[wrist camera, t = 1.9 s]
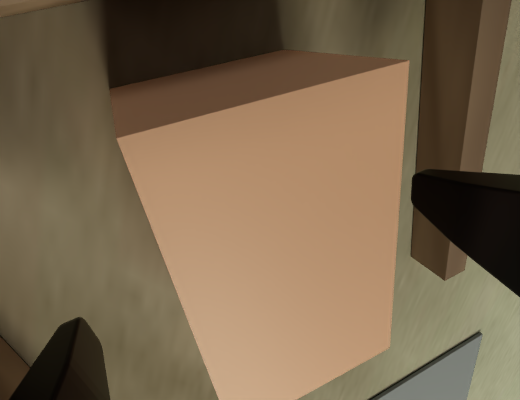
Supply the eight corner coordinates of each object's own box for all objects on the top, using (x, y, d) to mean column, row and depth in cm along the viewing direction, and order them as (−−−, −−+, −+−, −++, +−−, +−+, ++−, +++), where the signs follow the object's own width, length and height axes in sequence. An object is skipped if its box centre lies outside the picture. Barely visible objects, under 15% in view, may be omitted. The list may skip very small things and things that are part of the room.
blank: (189, 303, 13) (232, 434, 8) (109, 88, 9) (116, 138, 4) (304, 254, 14) (389, 347, 10) (281, 49, 10) (409, 60, 6)
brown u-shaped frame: (48, 439, 12) (39, 502, 11) (-430, 4, 5) (-683, -9, 3) (429, 247, 17) (464, 270, 15) (465, -125, 10) (538, -157, 8)
